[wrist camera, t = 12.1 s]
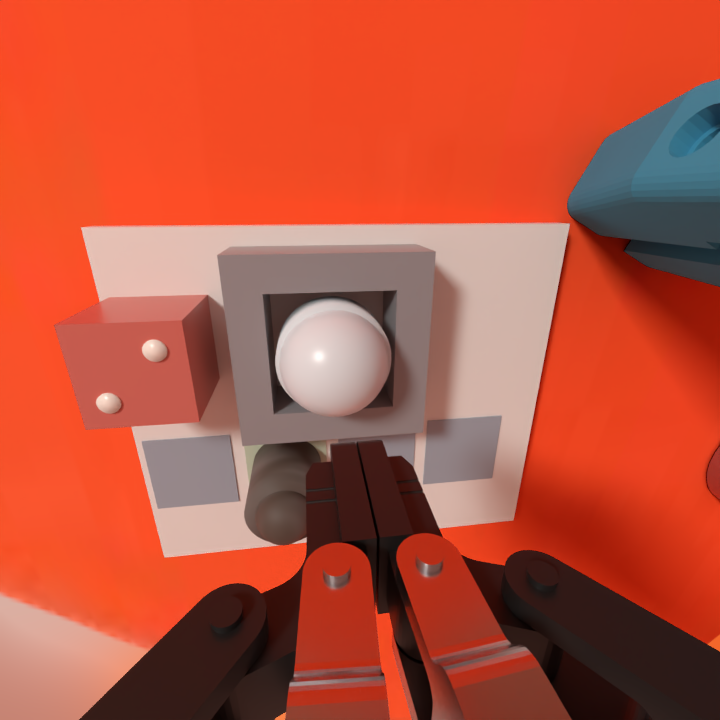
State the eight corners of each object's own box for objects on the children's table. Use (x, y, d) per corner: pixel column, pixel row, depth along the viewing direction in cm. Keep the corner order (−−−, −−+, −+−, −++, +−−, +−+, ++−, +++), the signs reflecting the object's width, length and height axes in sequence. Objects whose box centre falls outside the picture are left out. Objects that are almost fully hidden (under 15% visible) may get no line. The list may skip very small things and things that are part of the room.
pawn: (320, 434, 26) (325, 499, 20) (321, 489, 27) (326, 562, 22) (250, 438, 25) (235, 506, 19) (256, 494, 27) (243, 570, 21)
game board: (557, 222, 24) (570, 223, 23) (506, 509, 32) (514, 521, 31) (92, 225, 20) (80, 227, 19) (169, 543, 29) (163, 558, 28)
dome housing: (416, 243, 22) (435, 251, 19) (408, 403, 26) (423, 432, 22) (230, 246, 21) (217, 255, 17) (250, 413, 24) (242, 446, 21)
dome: (382, 291, 21) (406, 319, 16) (380, 387, 23) (401, 437, 18) (274, 294, 20) (265, 324, 15) (282, 393, 22) (276, 446, 17)
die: (207, 294, 21) (180, 321, 17) (219, 378, 23) (199, 423, 19) (108, 297, 21) (52, 325, 16) (129, 383, 23) (84, 431, 18)
